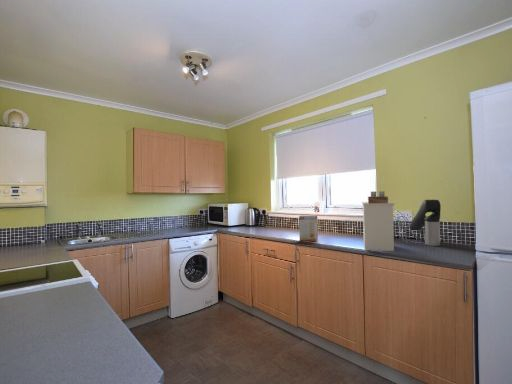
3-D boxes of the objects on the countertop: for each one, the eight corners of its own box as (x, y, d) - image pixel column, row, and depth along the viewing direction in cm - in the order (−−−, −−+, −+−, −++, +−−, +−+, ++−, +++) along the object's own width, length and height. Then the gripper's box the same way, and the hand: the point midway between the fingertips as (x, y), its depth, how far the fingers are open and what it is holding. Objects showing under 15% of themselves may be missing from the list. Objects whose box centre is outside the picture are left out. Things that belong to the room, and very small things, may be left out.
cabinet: (362, 243, 212) (362, 202, 212) (390, 244, 206) (389, 201, 206) (364, 249, 189) (363, 203, 189) (394, 251, 183) (394, 203, 183)
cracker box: (318, 240, 227) (317, 215, 227) (315, 241, 222) (315, 216, 222) (302, 239, 235) (301, 214, 235) (299, 240, 230) (298, 215, 230)
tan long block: (366, 201, 221) (366, 191, 221) (382, 201, 217) (382, 191, 217) (368, 203, 189) (368, 191, 189) (388, 203, 185) (387, 191, 185)
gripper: (382, 219, 234) (383, 210, 220) (364, 219, 238) (364, 210, 225) (381, 211, 237) (383, 202, 224) (363, 211, 242) (364, 202, 229)
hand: (373, 206), depth 225 cm, fingers open, 8 cm apart
